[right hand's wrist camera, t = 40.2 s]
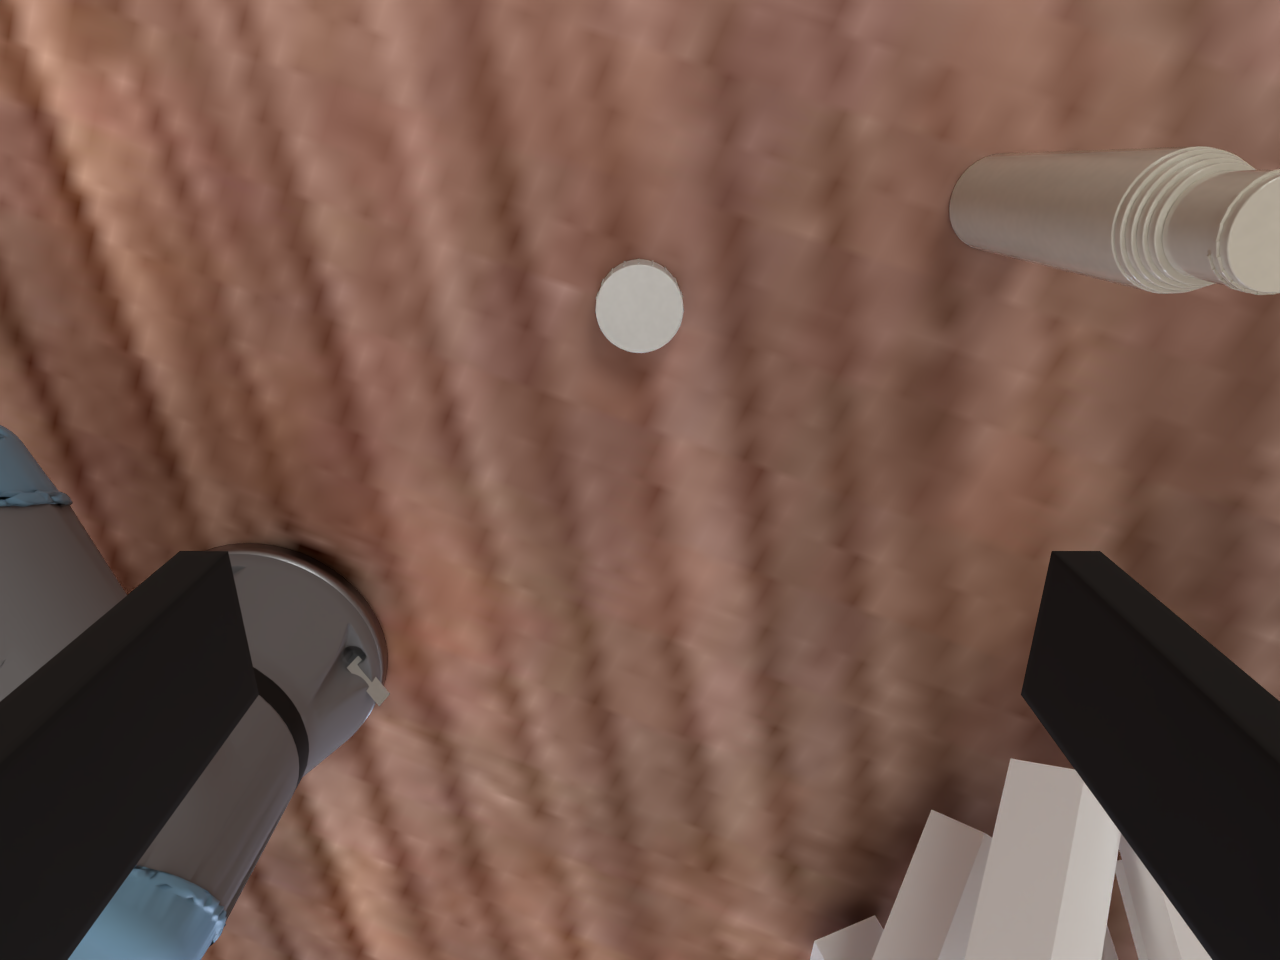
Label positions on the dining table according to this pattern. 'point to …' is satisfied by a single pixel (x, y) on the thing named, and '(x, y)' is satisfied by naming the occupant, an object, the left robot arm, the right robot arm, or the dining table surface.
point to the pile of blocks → (1021, 886)
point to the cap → (639, 306)
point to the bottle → (1128, 216)
